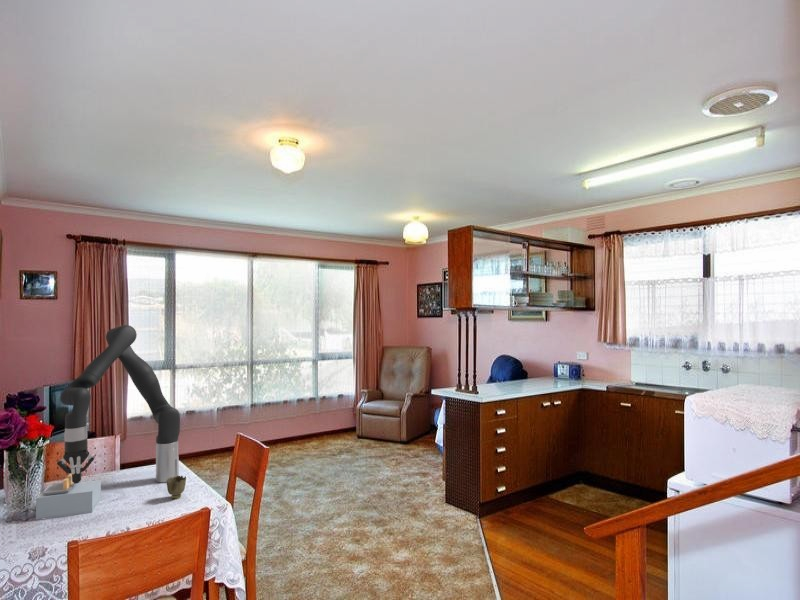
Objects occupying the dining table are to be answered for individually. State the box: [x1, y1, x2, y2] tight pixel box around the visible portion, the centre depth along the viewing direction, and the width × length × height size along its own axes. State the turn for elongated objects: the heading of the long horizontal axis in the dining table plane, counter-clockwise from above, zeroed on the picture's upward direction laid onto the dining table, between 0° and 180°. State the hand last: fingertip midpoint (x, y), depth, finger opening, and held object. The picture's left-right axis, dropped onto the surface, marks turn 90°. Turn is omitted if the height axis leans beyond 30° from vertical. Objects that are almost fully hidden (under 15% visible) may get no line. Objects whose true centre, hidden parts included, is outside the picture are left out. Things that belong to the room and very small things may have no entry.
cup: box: [166, 475, 187, 500], centre depth 198 cm, size 8×7×8 cm
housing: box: [35, 479, 102, 521], centre depth 188 cm, size 18×14×8 cm
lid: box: [43, 473, 76, 496], centre depth 187 cm, size 8×12×4 cm, turn 20°
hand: (76, 482), depth 189 cm, fingers closed
